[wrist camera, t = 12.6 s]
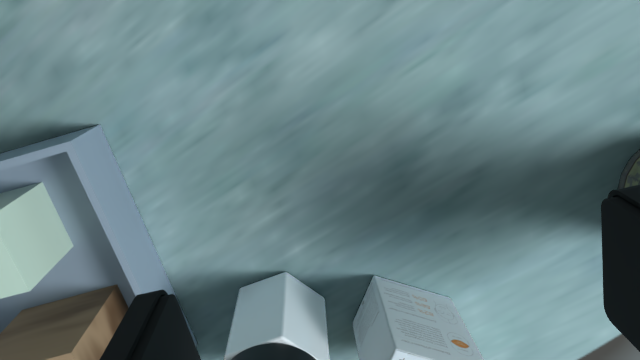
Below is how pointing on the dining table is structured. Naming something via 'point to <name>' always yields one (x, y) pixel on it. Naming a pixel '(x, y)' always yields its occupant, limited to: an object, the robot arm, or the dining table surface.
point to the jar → (278, 322)
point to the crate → (85, 221)
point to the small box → (410, 325)
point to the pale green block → (29, 238)
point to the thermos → (631, 172)
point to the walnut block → (65, 327)
